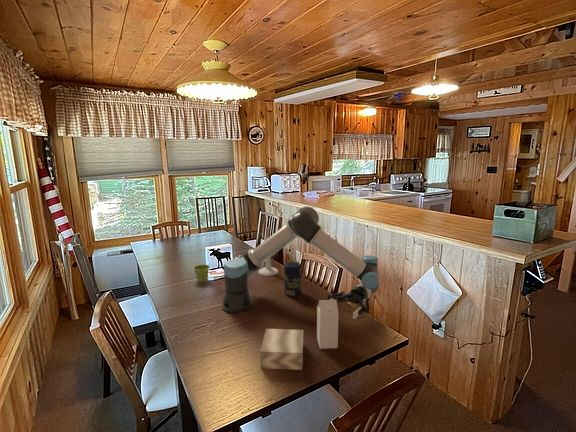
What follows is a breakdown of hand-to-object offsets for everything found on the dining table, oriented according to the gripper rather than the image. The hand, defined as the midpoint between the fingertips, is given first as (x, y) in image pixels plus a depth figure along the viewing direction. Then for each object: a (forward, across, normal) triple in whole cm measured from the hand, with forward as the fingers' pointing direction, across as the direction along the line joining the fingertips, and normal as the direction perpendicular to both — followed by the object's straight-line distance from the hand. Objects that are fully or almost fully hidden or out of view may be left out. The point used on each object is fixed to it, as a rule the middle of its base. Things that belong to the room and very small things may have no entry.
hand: (338, 311), depth 134 cm
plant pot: (-2, +94, -11) cm, 95 cm away
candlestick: (-37, +71, -11) cm, 81 cm away
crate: (+26, +10, -11) cm, 30 cm away
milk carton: (+9, 0, -11) cm, 14 cm away
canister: (-20, +39, -11) cm, 46 cm away
